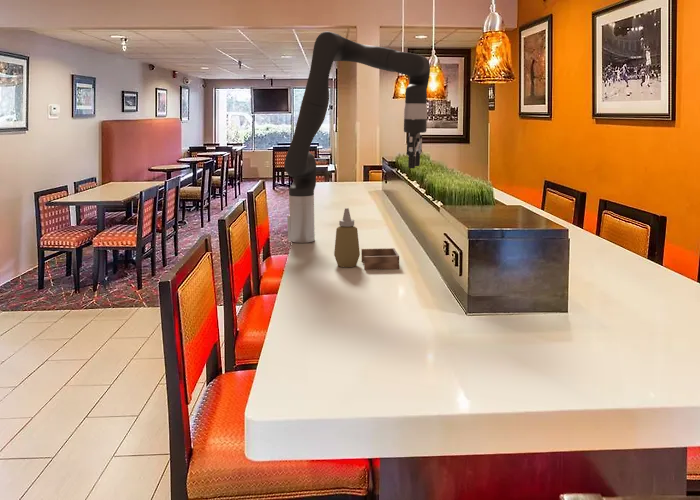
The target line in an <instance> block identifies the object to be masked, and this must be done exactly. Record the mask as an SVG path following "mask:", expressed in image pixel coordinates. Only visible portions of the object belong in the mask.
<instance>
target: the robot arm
mask: <svg viewBox="0 0 700 500" xmlns="http://www.w3.org/2000/svg"><path fill="white" fill-rule="evenodd" d="M334 62H351V63H359V64H362V65H364V66H367V67H371V68H374V69H378V70H381V71H386V72H392V73H394V72H395V73H398V74H401V75H405V76H409V78H408V79H409V81H408V85H407V86H406V89H405V92H404V93H405V95H404V96H405V97H404V99H405V100H404V101H405V102H404V103H405V104H404V108H403V109H404V111H403V112H404V113H403V132H404V133H406V134H407V133H409V136H406V156H407V157H408V158H407V159H408V162H407V163H408V164H407V168H408V169H416V167H419V166H420V165H421V155H422V153H423V135H422V133H427V127H428V126H427V123H428V122H427V121H428V108H427V105H428V103H427V100H428V99H427V98H428V91H427V89H428V86H429V80H430V75H431V65H430V60H429V59H428V58H427V57H426V56H424V55H421V54H418V53H414V52H412V53H411V52H406V51H399V50H397V49H393V48H389V47H385V46H380V45H379V46H378V45H371V44H370V45H369V44H364V43H359V42H355V41H353V40H351V39H349V38H345V37H344V36H342V35H340V34H339V33H336V32H331V31H328V30H327V31H323V32H321V33H320V34H319V35H317V37H316V39H315V42H314V44H313V50H312V56H311V64H310V70H309V74H308V77H307V81H306V86H305V90H304V94H303V97H302V100H301V104H300V109H299V113H298V117H297V120H296V125H295V128H294V131H293V132H294V133H293V136H292V140H291V142H290V143H289V148H288V150H287V153H286V156H285V159H284V170H285V172H286V174H287V175H288V176H289V177H292V178H293V182H292V184H291V185H290V187H289V188H288V204H289V205H288V207H289V210H288V211H289V215H287V241H288V242H292V243H298V244H302V243H306V244H307V243H312V242H314V241H315V239H316V238H315V236H316V234H315V233H316V232H315V229H316V227H315V196H314V195H315V188H316V186H317V184H316V183H317V163H316V162H317V161H316V159H315V156H314V154H313V153H311V152H310V149H311V145H312V142H313V140H314V138H315V136H316V135H317V133H318V131H319V130H320V128H321V127H322V126H323V123H324V120H325V118H326V115H327V112H328V111H327V110H328V108H329V103H330V88H329V85H330V84H329V79H330V74H331V70H332V67H333V63H334Z"/></svg>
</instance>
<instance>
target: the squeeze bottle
mask: <svg viewBox="0 0 700 500" xmlns="http://www.w3.org/2000/svg"><path fill="white" fill-rule="evenodd" d="M338 222H339V224H338V225H339V226H337V227H336V232H335V240H334V241H335V242H334V252H333V256H334V259H335V261H336V264H337V266H338V267H341V268H353V267H354V268H355V266H356V267H357V265H358V262H359V259H360V256H361V254H360V244H359V235H358V234H359V233H358V228H357V226H355V219H352V218H351V214H350V209H349V207H345V208H344V211H343V216H342V219H339V221H338Z"/></svg>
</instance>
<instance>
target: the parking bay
mask: <svg viewBox="0 0 700 500" xmlns="http://www.w3.org/2000/svg"><path fill="white" fill-rule="evenodd" d="M361 262H364V263H363V264H364V265H363V267H364V269H363V270H366V271H367V270H368V271H369V270H399V269H400V254H399V253H398V252H397V250H396V248H394V247H393V248H392V247H391V248H387V247H385V248H361Z"/></svg>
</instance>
